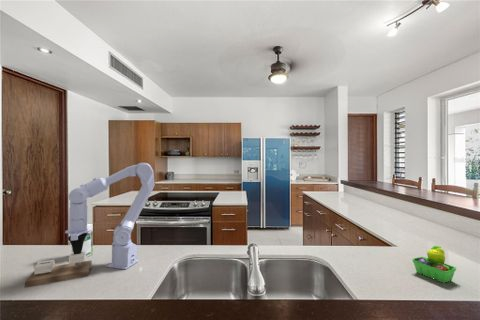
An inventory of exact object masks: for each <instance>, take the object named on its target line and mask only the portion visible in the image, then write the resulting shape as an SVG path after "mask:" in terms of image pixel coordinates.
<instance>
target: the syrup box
mask: <svg viewBox="0 0 480 320" xmlns="http://www.w3.org/2000/svg"><path fill="white" fill-rule="evenodd" d="M87 229H88V230H87V231H86V232H85V233H87V235H86V237H85V240H84V243H83V247H82V251H85V250H86V258H87V257H90V256H92V255H94V254H93V253H94V250H93V249H94V247H93V246H94V245H93V244H94V241H93V239H94V236H93V235H94V234H93V233H94V231H93V229H94V228H93V223H89V222H87ZM72 252H73V248H72V247H71V253H72Z"/></svg>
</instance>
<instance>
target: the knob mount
mask: <svg viewBox="0 0 480 320" xmlns="http://www.w3.org/2000/svg"><path fill="white" fill-rule="evenodd" d="M92 265H93V263H92V260H84V262H78V263H72V264H69V263H65V264H60V265H59V264H58V265H55V267H54V268H53V269H52V271H51V272H47V273H41V274H35V275H34V271H32V272H31V273H30V275H29V276H28V278H26V280H25V281H24V288H29V287H35V286H40V285H46V284H51V283H55V282H62V281H68V280H71V279H72V280H73V279H79V278H83V277H88V276H89V274H90V270H91V268H92Z"/></svg>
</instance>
